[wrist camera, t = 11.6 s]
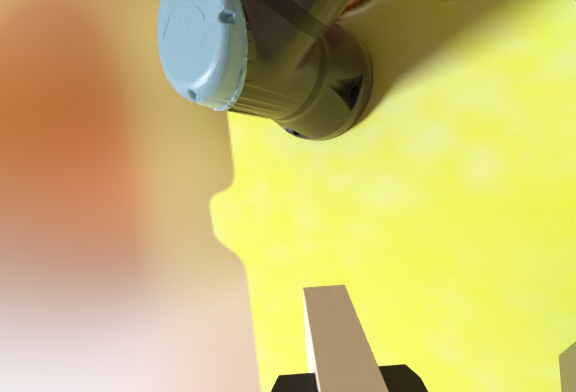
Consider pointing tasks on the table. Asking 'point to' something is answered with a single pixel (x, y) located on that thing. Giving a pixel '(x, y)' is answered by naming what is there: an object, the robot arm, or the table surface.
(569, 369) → the cabinet with door
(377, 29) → the table surface
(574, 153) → the table surface
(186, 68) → the robot arm
